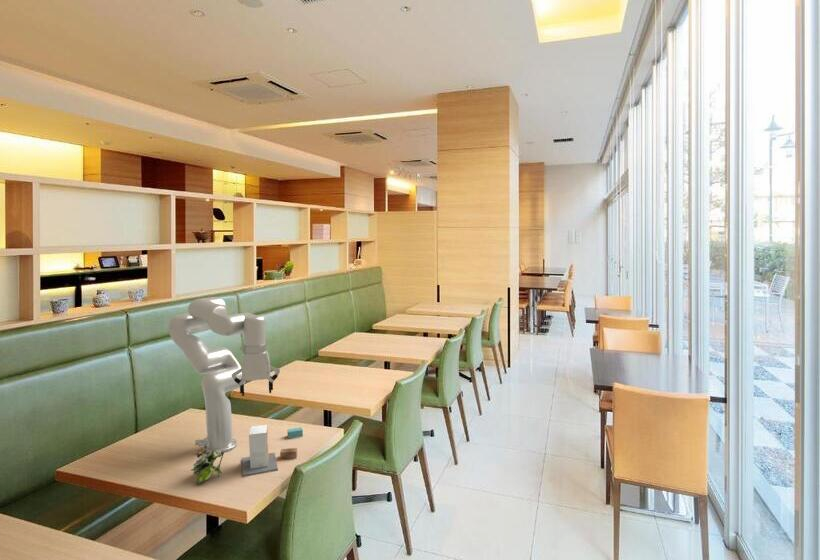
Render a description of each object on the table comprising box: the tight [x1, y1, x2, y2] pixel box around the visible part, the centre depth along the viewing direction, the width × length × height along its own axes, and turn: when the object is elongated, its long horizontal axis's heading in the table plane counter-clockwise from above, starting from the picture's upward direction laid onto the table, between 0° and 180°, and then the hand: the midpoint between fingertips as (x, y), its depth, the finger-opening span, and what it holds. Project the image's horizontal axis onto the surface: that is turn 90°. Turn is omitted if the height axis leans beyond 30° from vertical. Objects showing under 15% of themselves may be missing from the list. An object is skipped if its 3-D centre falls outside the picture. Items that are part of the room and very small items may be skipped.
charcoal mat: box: [241, 452, 279, 477], centre depth 176 cm, size 12×14×1 cm
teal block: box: [287, 427, 304, 439], centre depth 201 cm, size 6×3×3 cm, turn 111°
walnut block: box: [279, 447, 298, 460], centre depth 182 cm, size 6×3×3 cm, turn 97°
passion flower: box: [190, 449, 225, 485], centre depth 168 cm, size 11×11×12 cm
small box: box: [248, 424, 269, 469], centre depth 176 cm, size 8×6×13 cm
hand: (256, 393), depth 176 cm, fingers open, 9 cm apart
